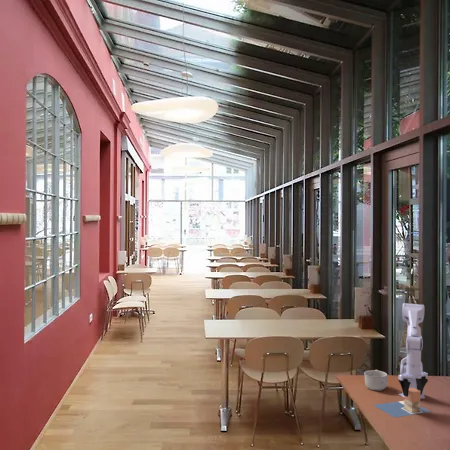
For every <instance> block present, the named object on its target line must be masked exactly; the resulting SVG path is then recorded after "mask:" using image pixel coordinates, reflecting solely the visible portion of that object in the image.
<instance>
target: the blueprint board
mask: <svg viewBox="0 0 450 450" xmlns="http://www.w3.org/2000/svg"><path fill="white" fill-rule="evenodd" d="M404 401H405V400H401V401H392V402H385V403H377V404H373V406H374V407H375V408H377V409H379V410H381V412H382V411H383V412H384V413H386V414H388V415H389V416H391V417H393V418H401V417H406V416H413V415H414V416H415V415H419V414H427V413H431V412H432V411H431V410H429V409H426V408H425V407H423V406H421V405H420V412H413V413H411V412H409V411H407V410H405V409H404Z"/></svg>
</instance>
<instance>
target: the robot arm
mask: <svg viewBox="0 0 450 450" xmlns="http://www.w3.org/2000/svg"><path fill="white" fill-rule="evenodd" d="M401 311H402V312H401V313H402V314H401V315H402V317H401V318H402V321H403V322H406V325H407V329H406V330H407V331H406V335H407V336H406V339H405V340H406V341H405V343H406V344H405V346H406V347H405V348H406V356H405V357H403V358H402V359H401V361H400V370H399V371H400V374H398V377H397V378H398V383H399V384H400V387H401V390H402V393H401V392H400V393H398V395H399V396H401V397H403V398H405V396H406V397H408V393H409V388H415V389H417V390H419V391H421V392H420V400H421V399H425V398H426V397H425V386H426V384H427V383H428V382H429V380H428V375H429V373H428V372H425V371H424V370H423V369H424V368H423V362H422V351H423V344H424V342H423V341H424V340H423V337H422V329H421V326H419V324H421V323H423V322H424V317H425V305H424V304H423V303H422V304H416V303H406V302H403V303H402V310H401Z"/></svg>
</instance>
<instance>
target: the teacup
mask: <svg viewBox="0 0 450 450" xmlns="http://www.w3.org/2000/svg"><path fill="white" fill-rule="evenodd" d="M363 374H364V384H365V386H366V387H367V388H368V390H372V391H379V392H380V391H384V390H385V389H386V388H387V386H388V374H387V373H386V372H385V371H382V370H378V369H375V370H374V369H372V370H365V371H364V373H363Z"/></svg>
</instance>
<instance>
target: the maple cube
mask: <svg viewBox="0 0 450 450" xmlns="http://www.w3.org/2000/svg"><path fill="white" fill-rule="evenodd" d="M403 401H404V409H405V410H407V411H409V412H411V413H413V412H420V406H421V400H420V401H419V402H410V401H408V400H406V399H405V398H404V400H403Z"/></svg>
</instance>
